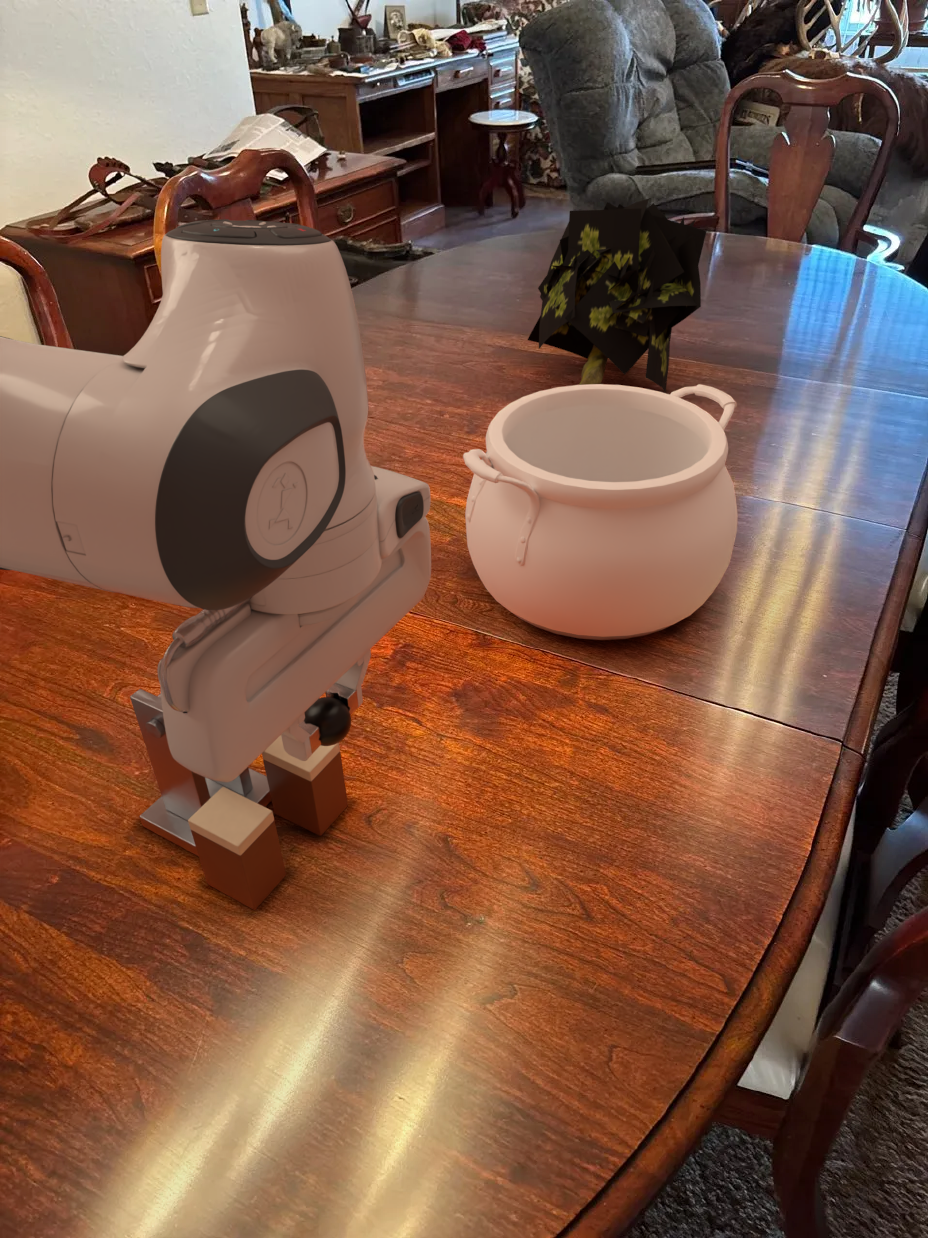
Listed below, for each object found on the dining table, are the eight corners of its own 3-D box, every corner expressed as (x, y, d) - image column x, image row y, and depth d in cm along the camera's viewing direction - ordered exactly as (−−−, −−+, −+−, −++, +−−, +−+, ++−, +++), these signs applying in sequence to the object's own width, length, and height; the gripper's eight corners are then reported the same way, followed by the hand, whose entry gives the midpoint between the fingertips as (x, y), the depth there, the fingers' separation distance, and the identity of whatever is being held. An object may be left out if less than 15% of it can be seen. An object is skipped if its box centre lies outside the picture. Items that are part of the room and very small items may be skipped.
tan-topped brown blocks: (254, 911, 64) (238, 846, 60) (206, 884, 66) (187, 820, 62) (348, 805, 72) (339, 741, 67) (302, 784, 73) (291, 720, 69)
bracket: (280, 791, 73) (255, 669, 65) (210, 863, 67) (174, 739, 60) (214, 760, 76) (182, 638, 68) (142, 826, 70) (98, 703, 63)
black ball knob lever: (367, 728, 57) (350, 689, 56) (338, 758, 55) (320, 718, 54) (195, 707, 67) (177, 674, 66) (165, 733, 65) (146, 698, 64)
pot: (552, 701, 81) (561, 534, 70) (410, 559, 99) (400, 410, 88) (790, 597, 92) (828, 440, 82) (623, 487, 110) (637, 347, 100)
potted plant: (654, 442, 123) (746, 212, 115) (496, 384, 123) (577, 152, 115) (640, 437, 143) (717, 241, 136) (505, 387, 144) (574, 190, 136)
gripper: (204, 671, 40) (253, 869, 49) (446, 473, 54) (452, 654, 63) (103, 628, 43) (167, 823, 51) (359, 450, 57) (376, 626, 65)
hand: (325, 728), depth 57 cm, fingers closed on black ball knob lever, 3 cm apart
